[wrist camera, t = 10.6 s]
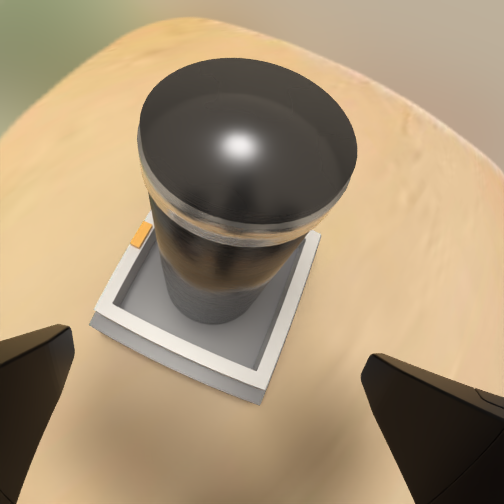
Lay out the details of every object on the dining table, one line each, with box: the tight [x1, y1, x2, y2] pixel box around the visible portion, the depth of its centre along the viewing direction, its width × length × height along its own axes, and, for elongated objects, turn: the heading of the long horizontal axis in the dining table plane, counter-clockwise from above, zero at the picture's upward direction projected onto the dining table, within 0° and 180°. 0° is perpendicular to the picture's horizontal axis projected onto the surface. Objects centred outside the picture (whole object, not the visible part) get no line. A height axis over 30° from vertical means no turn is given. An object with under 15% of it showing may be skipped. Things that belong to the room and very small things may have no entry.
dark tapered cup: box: [137, 58, 357, 325], centre depth 13 cm, size 6×6×13 cm
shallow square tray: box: [89, 210, 321, 405], centre depth 20 cm, size 11×12×4 cm
